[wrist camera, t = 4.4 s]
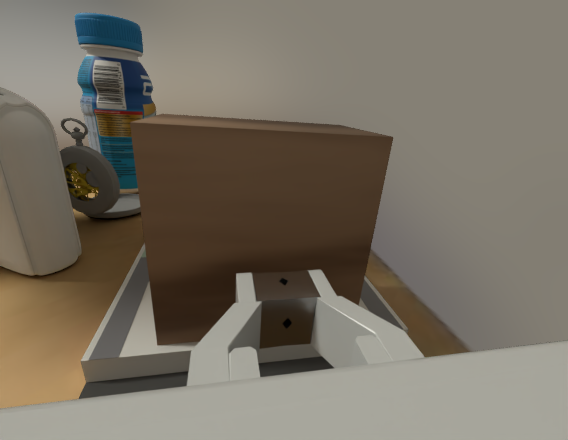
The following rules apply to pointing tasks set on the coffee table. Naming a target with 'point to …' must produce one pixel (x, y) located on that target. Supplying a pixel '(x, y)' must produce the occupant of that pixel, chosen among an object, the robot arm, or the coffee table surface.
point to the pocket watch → (94, 181)
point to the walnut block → (250, 209)
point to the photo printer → (33, 193)
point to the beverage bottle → (113, 89)
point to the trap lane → (176, 357)
